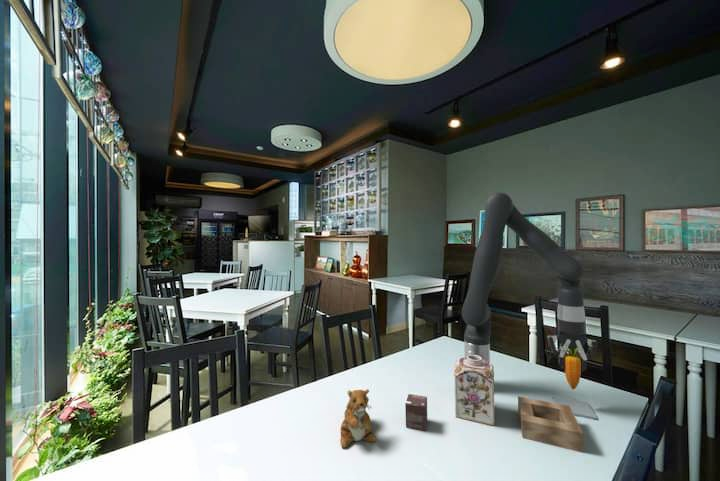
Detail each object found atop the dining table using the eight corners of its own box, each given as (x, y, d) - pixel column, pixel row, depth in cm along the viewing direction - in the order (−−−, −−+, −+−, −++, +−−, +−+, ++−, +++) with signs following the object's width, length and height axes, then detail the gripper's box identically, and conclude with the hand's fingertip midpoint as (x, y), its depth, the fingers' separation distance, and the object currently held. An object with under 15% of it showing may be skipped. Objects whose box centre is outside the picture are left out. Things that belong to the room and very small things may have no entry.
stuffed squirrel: (341, 450, 76) (340, 401, 76) (337, 419, 90) (337, 377, 90) (377, 446, 77) (377, 398, 78) (368, 416, 91) (368, 375, 92)
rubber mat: (558, 412, 93) (558, 410, 93) (552, 397, 102) (552, 395, 102) (597, 419, 88) (597, 417, 88) (587, 403, 97) (587, 401, 97)
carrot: (585, 393, 92) (584, 347, 93) (568, 392, 93) (567, 346, 94) (577, 386, 97) (575, 342, 97) (561, 385, 98) (559, 341, 98)
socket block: (522, 437, 80) (522, 419, 81) (518, 411, 93) (518, 396, 93) (583, 452, 75) (582, 433, 75) (570, 422, 87) (569, 406, 87)
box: (427, 419, 89) (427, 396, 89) (425, 431, 83) (425, 406, 84) (408, 416, 91) (408, 393, 91) (405, 427, 85) (405, 403, 86)
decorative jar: (494, 407, 96) (493, 353, 96) (495, 427, 85) (494, 367, 86) (457, 399, 101) (457, 348, 101) (453, 417, 90) (453, 360, 91)
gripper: (547, 318, 95) (549, 369, 95) (601, 323, 89) (603, 377, 89) (544, 314, 102) (545, 361, 102) (593, 317, 96) (595, 368, 96)
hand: (572, 368), depth 95 cm, fingers closed on carrot, 5 cm apart
